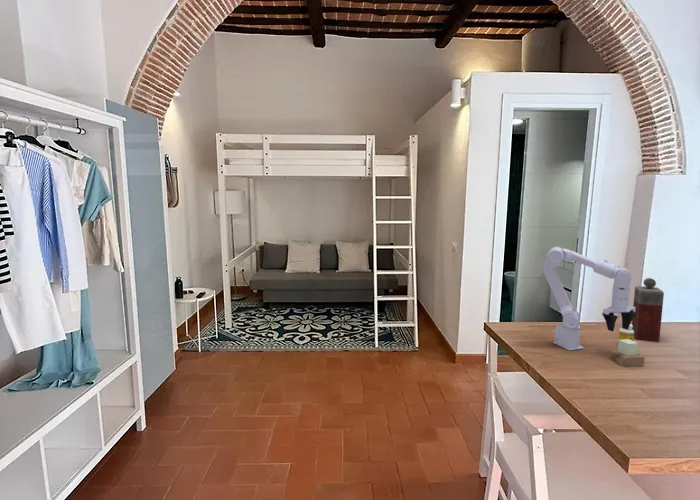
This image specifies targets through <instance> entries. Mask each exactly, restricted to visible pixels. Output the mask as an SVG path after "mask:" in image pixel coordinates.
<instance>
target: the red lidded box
mask: <svg viewBox="0 0 700 500" xmlns="http://www.w3.org/2000/svg"><path fill="white" fill-rule="evenodd" d="M656 284H657V282H656V280H655V279H653V278H652V277H648V278H645V279H644V280H643V285H644V286H643V285H642V286H641V285H636V286H635V287H634V295H633V297H634V298H633V305H632V306H633V307H636V309H635V312H634V313H636V316H635V317H634V318H633V320H632V321H631V325H633V328H632V330H633V331H634V341H635V340H636V341H645V342H651V343H652V342H653V343H654V342H655V343H660V338H661V329H662V328H661V327H662V316H663V305H664V295H665V292H664V291H663V290H661V289H660V288H659V287H656V286H657V285H656Z"/></svg>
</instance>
